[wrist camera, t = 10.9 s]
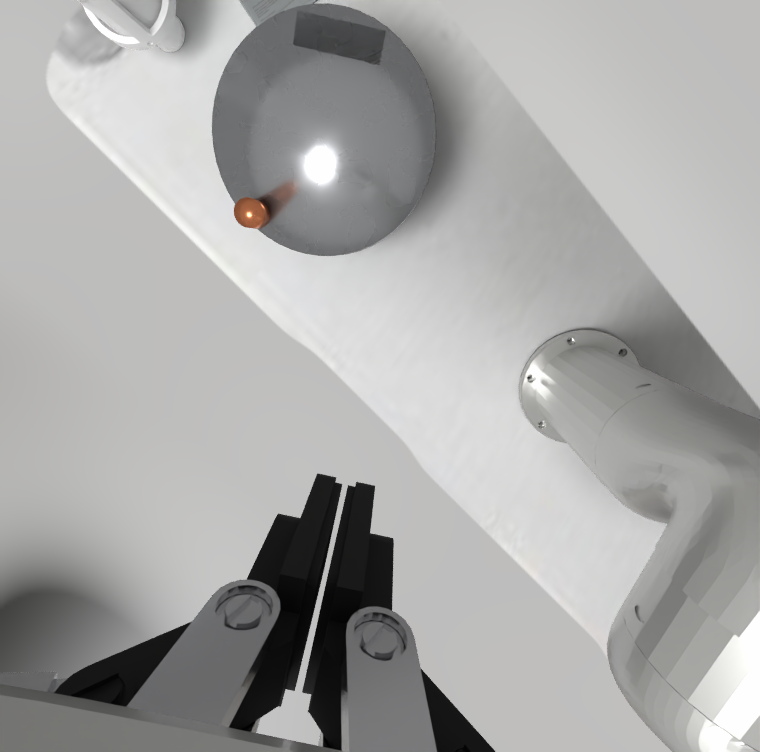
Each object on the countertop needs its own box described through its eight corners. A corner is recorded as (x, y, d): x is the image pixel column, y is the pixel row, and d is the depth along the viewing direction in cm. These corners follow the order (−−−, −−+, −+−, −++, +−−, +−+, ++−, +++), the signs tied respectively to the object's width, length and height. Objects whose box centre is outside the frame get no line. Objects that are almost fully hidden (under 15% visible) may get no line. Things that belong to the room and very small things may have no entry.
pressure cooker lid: (459, 44, 30) (466, 17, 26) (406, 275, 34) (407, 278, 31) (233, -9, 29) (211, -42, 26) (210, 231, 34) (189, 229, 31)
